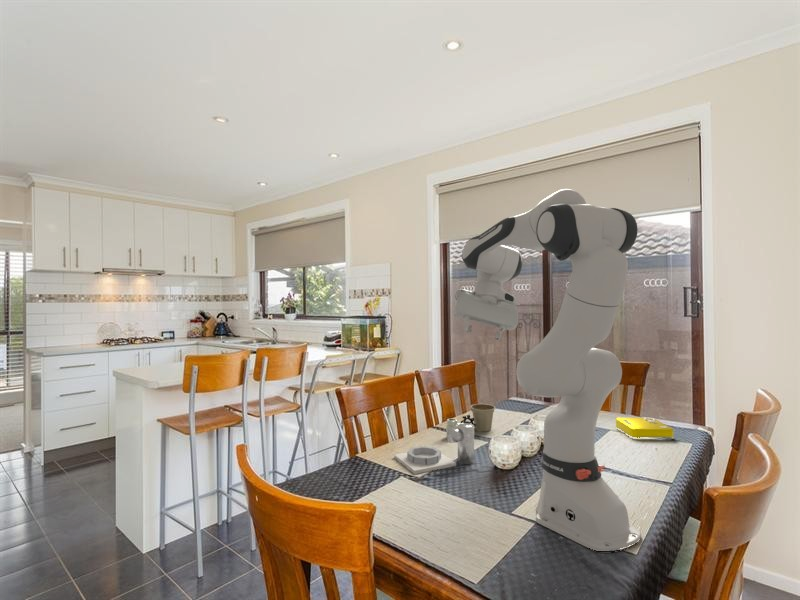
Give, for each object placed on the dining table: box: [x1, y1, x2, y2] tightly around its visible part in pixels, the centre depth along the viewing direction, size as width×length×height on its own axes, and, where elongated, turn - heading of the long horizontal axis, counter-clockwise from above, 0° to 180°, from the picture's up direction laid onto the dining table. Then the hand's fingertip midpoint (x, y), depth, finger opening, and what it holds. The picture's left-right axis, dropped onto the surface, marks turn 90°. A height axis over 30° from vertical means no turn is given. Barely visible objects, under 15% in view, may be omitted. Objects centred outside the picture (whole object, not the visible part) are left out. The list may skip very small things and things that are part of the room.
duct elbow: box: [446, 423, 475, 465], centre depth 134 cm, size 5×8×11 cm, turn 115°
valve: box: [445, 414, 476, 432], centre depth 160 cm, size 7×7×12 cm
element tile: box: [615, 417, 674, 438], centre depth 162 cm, size 15×15×5 cm
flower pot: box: [470, 403, 496, 432], centre depth 167 cm, size 9×9×9 cm
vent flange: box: [393, 445, 457, 475], centre depth 134 cm, size 14×14×3 cm
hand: (482, 335), depth 132 cm, fingers open, 8 cm apart
